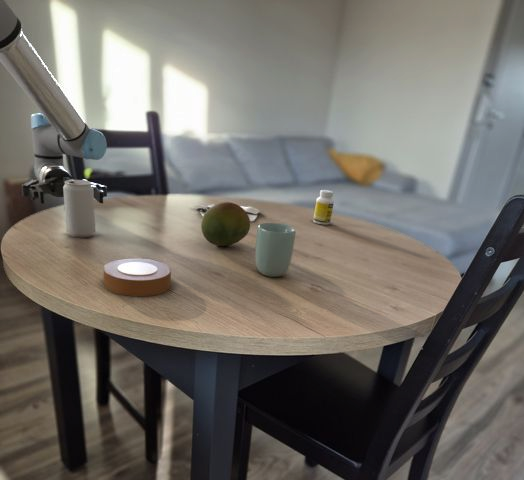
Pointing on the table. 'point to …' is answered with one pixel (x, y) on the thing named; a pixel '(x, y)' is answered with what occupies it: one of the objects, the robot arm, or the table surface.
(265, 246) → the cup
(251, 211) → the cloth
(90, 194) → the beverage can
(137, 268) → the brown round flat disc
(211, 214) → the fruit
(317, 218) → the supplement bottle
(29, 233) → the table surface
